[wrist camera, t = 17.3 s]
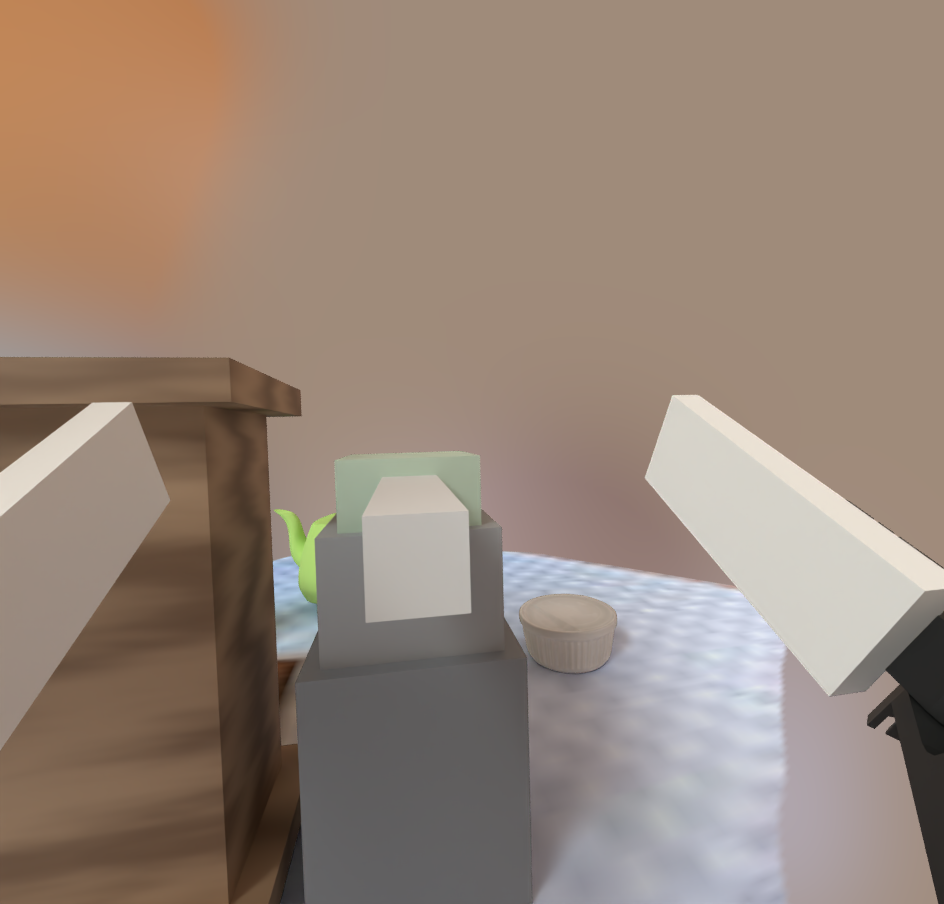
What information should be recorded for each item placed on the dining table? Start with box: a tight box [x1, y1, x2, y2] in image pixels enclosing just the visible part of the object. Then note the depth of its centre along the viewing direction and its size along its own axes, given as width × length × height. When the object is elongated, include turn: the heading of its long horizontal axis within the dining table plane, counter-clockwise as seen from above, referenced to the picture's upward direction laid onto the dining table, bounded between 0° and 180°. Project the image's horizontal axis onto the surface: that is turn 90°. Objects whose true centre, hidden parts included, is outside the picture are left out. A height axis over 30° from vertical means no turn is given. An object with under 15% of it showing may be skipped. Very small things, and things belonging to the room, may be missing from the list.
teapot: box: [274, 509, 336, 604], centre depth 72 cm, size 25×22×16 cm
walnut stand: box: [0, 357, 301, 904], centre depth 26 cm, size 14×20×30 cm
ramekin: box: [519, 594, 617, 674], centre depth 51 cm, size 11×11×5 cm
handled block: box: [335, 451, 482, 623], centre depth 22 cm, size 20×8×4 cm, turn 9°
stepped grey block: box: [295, 509, 532, 904], centre depth 29 cm, size 12×12×21 cm
